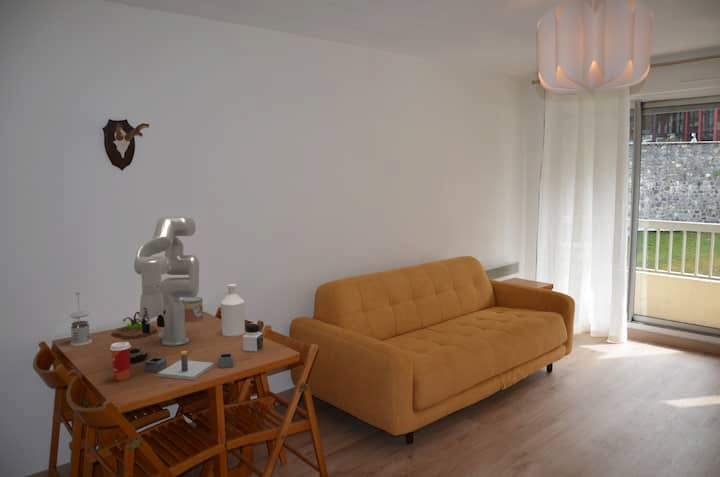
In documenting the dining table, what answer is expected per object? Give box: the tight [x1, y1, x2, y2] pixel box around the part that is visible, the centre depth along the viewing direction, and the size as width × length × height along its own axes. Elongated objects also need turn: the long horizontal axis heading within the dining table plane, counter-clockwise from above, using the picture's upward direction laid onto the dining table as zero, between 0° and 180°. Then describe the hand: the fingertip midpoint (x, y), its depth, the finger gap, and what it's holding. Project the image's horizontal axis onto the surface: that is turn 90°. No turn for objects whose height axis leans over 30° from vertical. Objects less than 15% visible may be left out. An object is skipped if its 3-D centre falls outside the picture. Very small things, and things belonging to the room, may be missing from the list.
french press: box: [69, 291, 93, 347], centre depth 262 cm, size 10×12×25 cm
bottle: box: [220, 283, 246, 337], centre depth 276 cm, size 12×12×25 cm
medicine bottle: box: [242, 322, 264, 353], centre depth 252 cm, size 7×7×12 cm
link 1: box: [144, 356, 167, 373], centre depth 227 cm, size 6×6×4 cm
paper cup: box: [109, 341, 132, 382], centre depth 216 cm, size 8×8×14 cm
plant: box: [111, 311, 158, 341], centre depth 277 cm, size 20×20×11 cm
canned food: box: [180, 296, 204, 323], centre depth 302 cm, size 11×11×12 cm
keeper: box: [157, 350, 215, 381], centre depth 224 cm, size 16×16×10 cm
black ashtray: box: [130, 347, 148, 364], centre depth 239 cm, size 12×12×4 cm
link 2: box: [217, 352, 235, 369], centre depth 232 cm, size 6×6×4 cm
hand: (153, 330), depth 224 cm, fingers open, 9 cm apart
